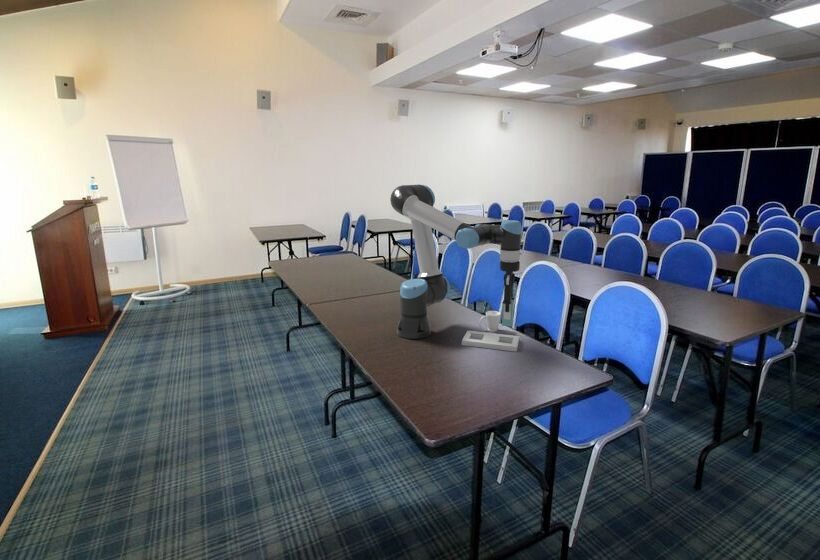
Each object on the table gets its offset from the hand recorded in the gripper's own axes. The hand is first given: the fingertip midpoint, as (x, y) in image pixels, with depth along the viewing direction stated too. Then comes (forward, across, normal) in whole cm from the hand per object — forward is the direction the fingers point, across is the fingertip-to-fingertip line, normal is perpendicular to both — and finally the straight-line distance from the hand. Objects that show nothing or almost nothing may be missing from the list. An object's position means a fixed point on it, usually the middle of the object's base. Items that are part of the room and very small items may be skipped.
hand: (507, 317), depth 169 cm
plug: (+3, 0, 0) cm, 3 cm away
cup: (+12, +14, +9) cm, 21 cm away
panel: (+12, 0, +6) cm, 14 cm away
